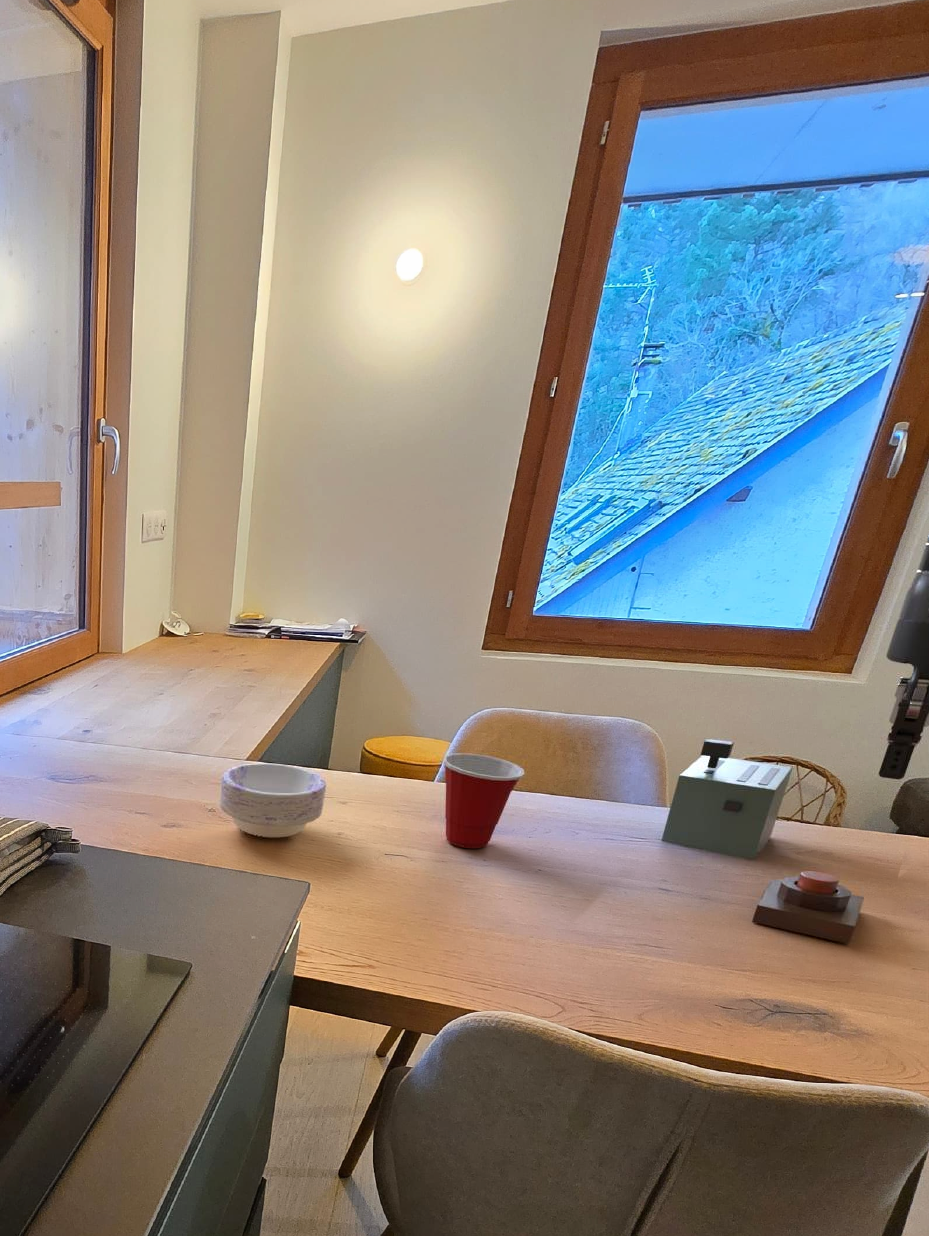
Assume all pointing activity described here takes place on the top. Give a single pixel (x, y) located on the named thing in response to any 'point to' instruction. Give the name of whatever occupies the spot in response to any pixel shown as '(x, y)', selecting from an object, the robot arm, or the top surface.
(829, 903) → the box
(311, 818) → the paper bowls
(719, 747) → the toaster slider
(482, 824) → the plastic cup
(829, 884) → the button
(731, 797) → the toaster
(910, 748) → the robot arm
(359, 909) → the top surface
